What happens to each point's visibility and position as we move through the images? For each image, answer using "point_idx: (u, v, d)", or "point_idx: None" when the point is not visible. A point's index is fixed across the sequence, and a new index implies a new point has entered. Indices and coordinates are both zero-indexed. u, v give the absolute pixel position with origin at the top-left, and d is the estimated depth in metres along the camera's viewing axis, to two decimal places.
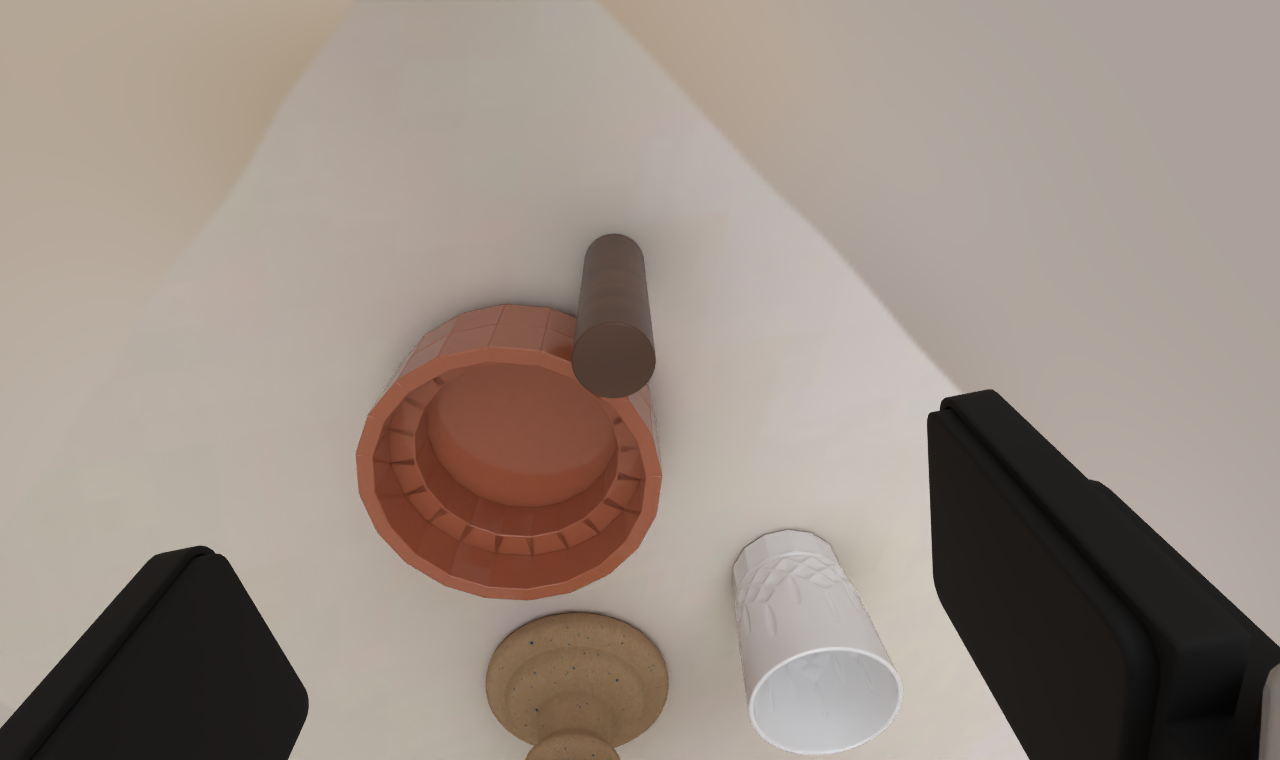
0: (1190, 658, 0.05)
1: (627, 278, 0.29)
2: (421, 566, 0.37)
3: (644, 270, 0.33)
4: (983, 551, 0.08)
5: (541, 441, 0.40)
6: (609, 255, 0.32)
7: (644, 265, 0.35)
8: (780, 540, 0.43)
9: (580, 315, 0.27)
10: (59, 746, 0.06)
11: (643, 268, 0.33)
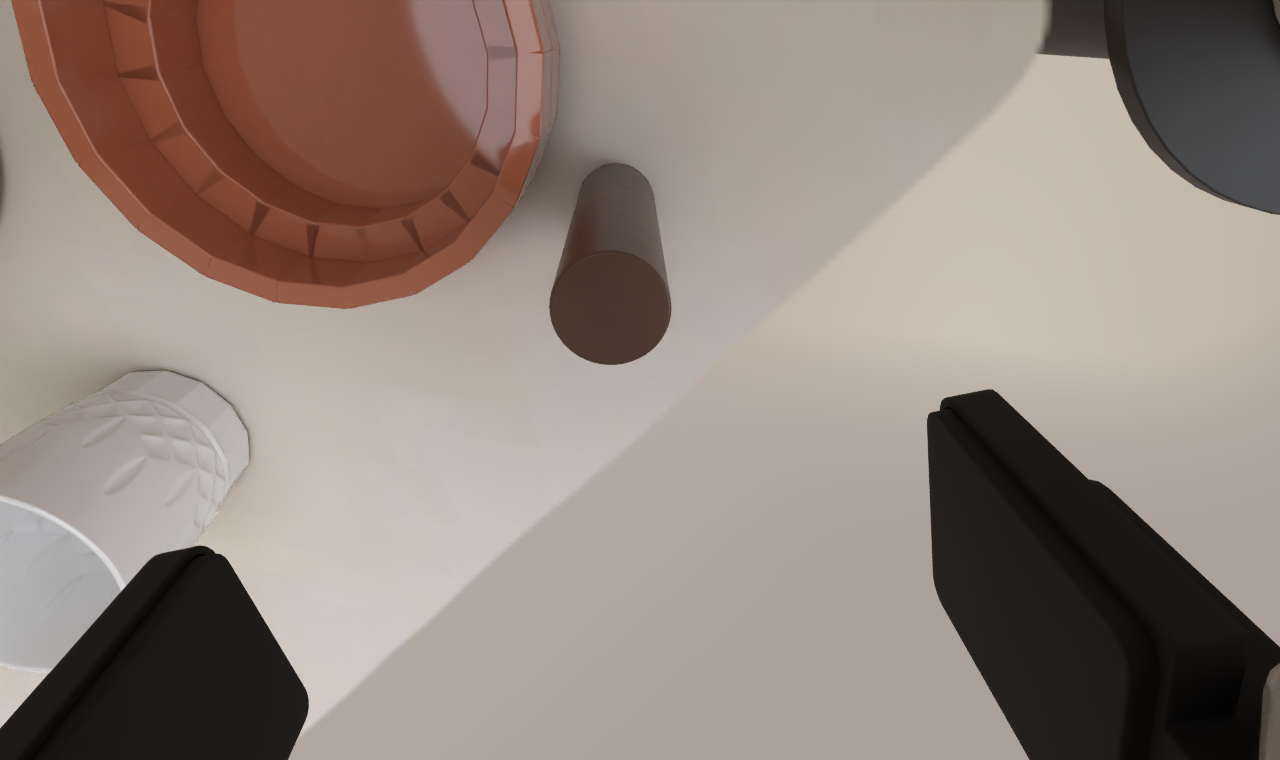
0: (1190, 658, 0.05)
1: None
2: None
3: None
4: (983, 551, 0.08)
5: (334, 87, 0.26)
6: None
7: None
8: (232, 431, 0.31)
9: (642, 234, 0.19)
10: (59, 746, 0.06)
11: None
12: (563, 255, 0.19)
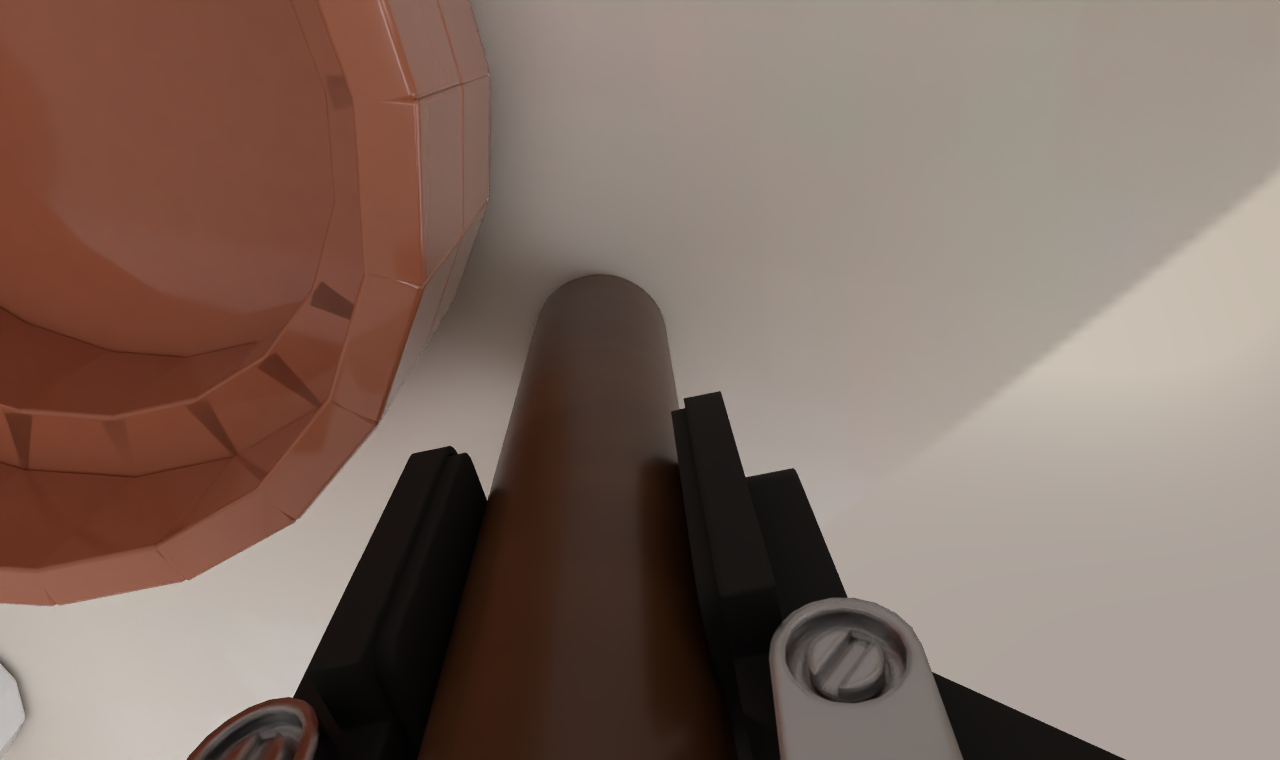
0: (734, 603, 0.06)
1: None
2: None
3: None
4: None
5: (69, 149, 0.14)
6: None
7: None
8: None
9: (661, 585, 0.07)
10: (411, 588, 0.07)
11: None
12: (450, 652, 0.07)
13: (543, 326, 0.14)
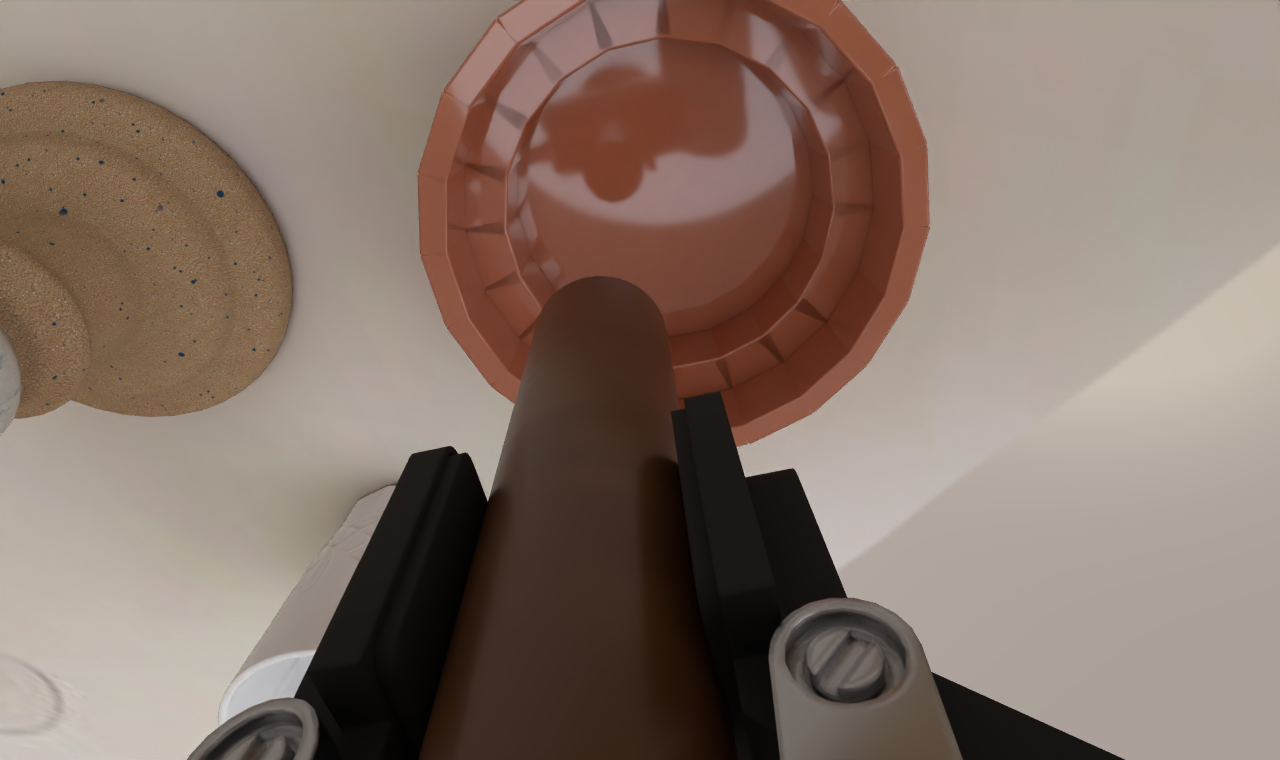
0: (733, 603, 0.06)
1: None
2: (488, 51, 0.18)
3: None
4: None
5: (643, 226, 0.26)
6: None
7: None
8: None
9: (662, 588, 0.07)
10: (412, 588, 0.07)
11: None
12: (451, 654, 0.07)
13: (543, 327, 0.14)
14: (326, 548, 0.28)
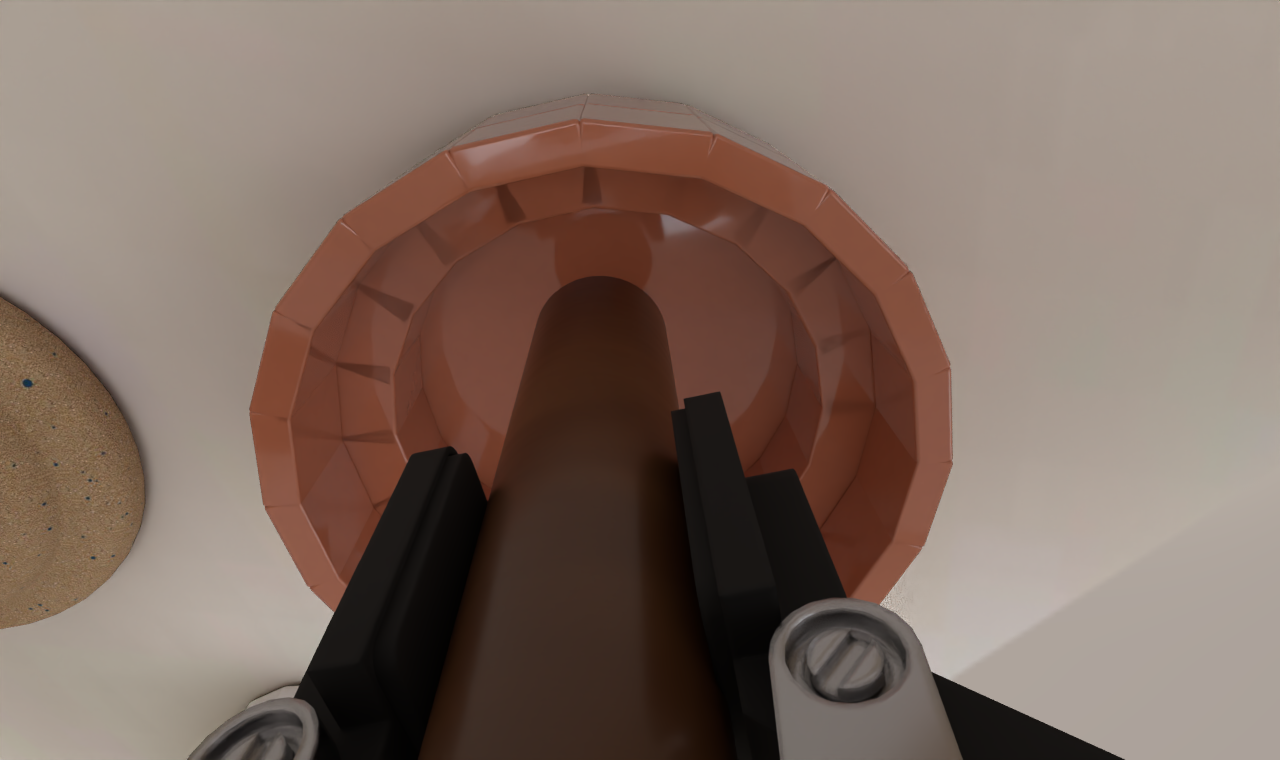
0: (733, 603, 0.06)
1: None
2: (333, 260, 0.13)
3: None
4: None
5: None
6: None
7: None
8: None
9: (662, 587, 0.07)
10: (412, 588, 0.07)
11: None
12: (451, 653, 0.07)
13: (543, 327, 0.14)
14: None
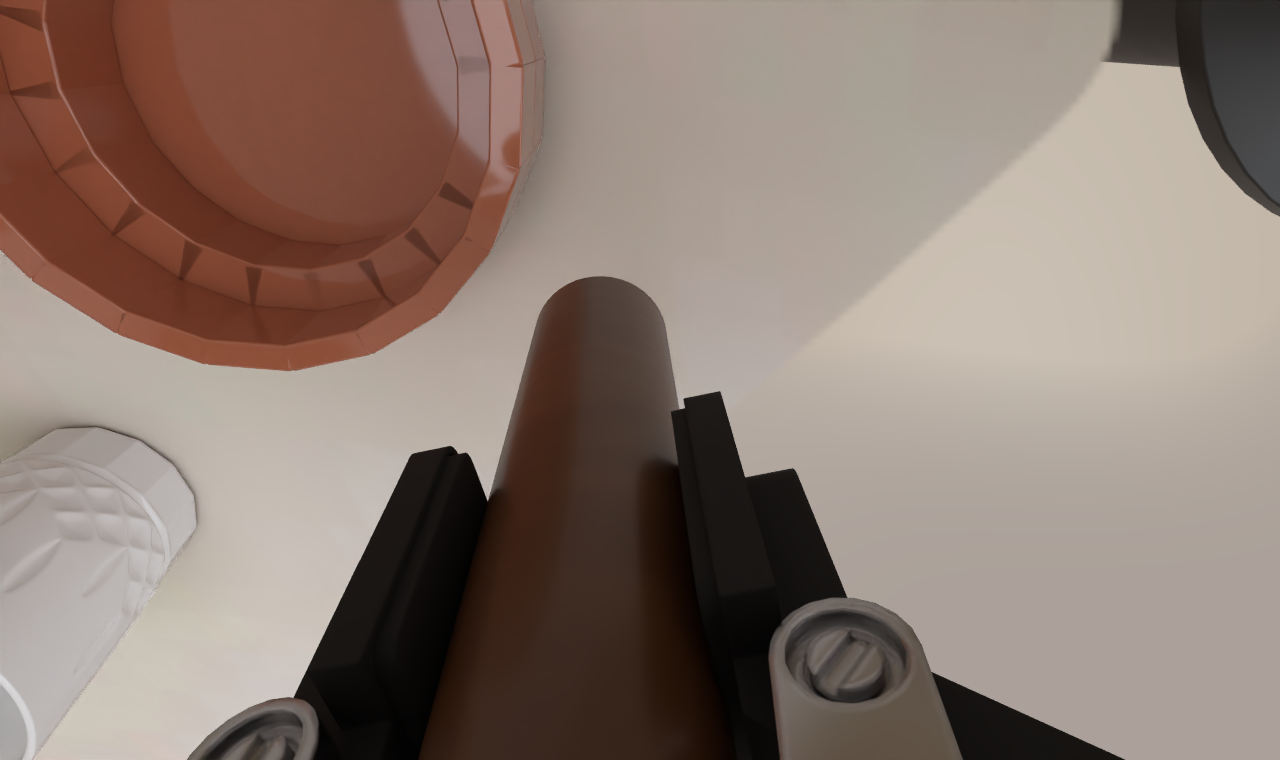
0: (733, 603, 0.06)
1: None
2: None
3: None
4: None
5: (280, 105, 0.22)
6: None
7: None
8: (174, 495, 0.27)
9: (662, 589, 0.07)
10: (412, 588, 0.07)
11: None
12: (451, 655, 0.07)
13: (543, 327, 0.14)
14: None
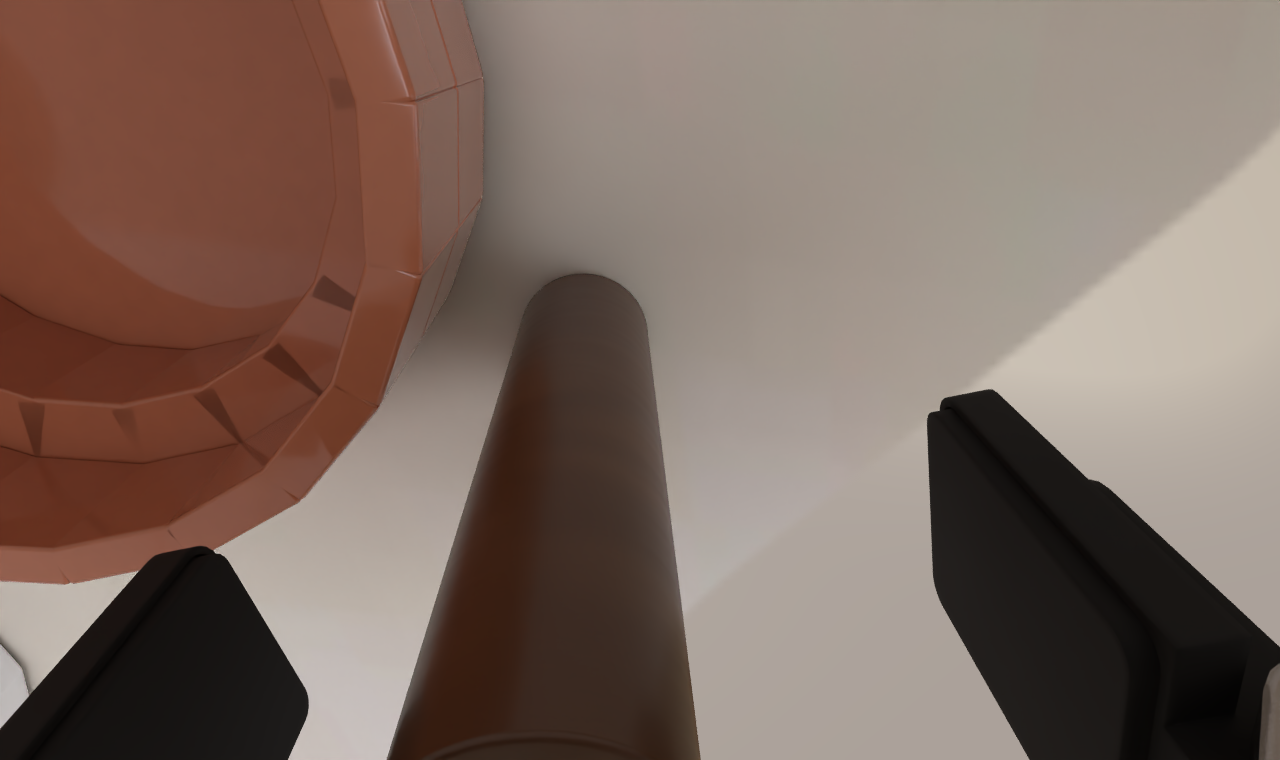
0: (1190, 657, 0.05)
1: None
2: None
3: None
4: (983, 551, 0.08)
5: (79, 150, 0.14)
6: None
7: None
8: None
9: (627, 555, 0.08)
10: (59, 746, 0.06)
11: None
12: (434, 616, 0.08)
13: (527, 322, 0.15)
14: None
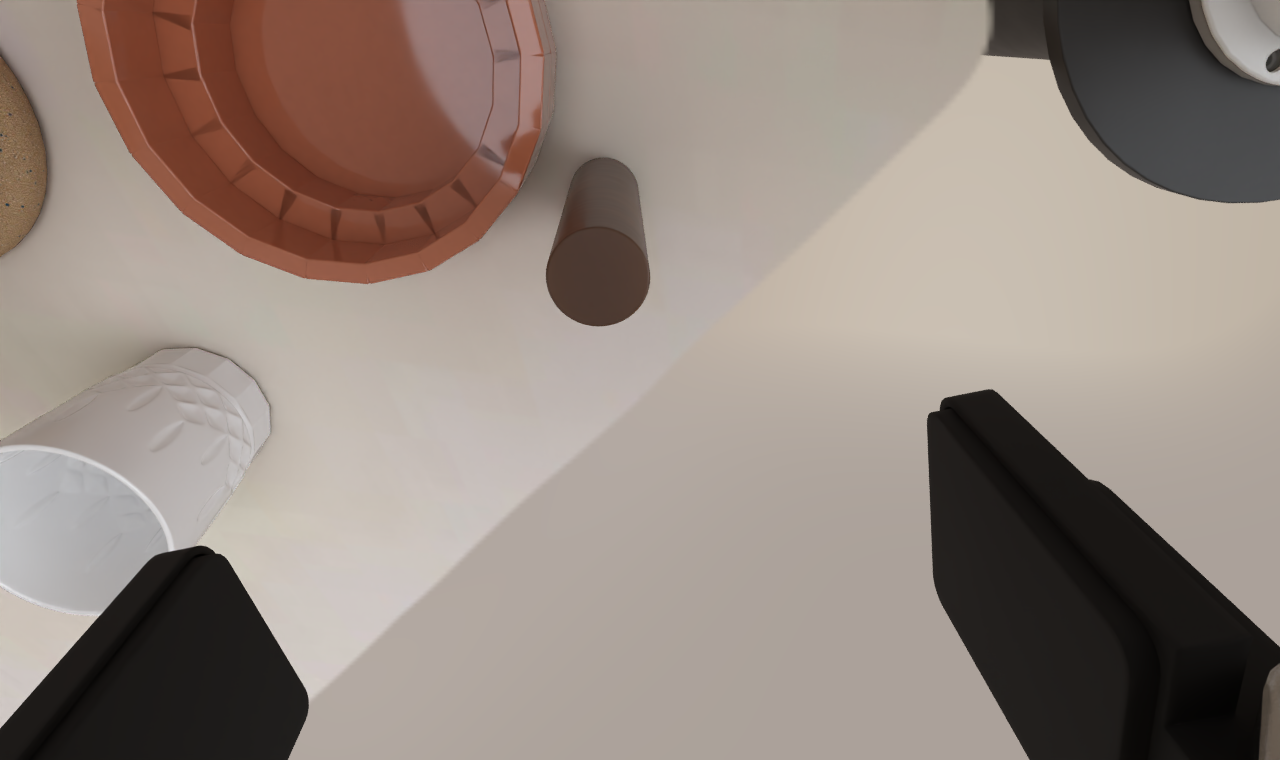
0: (1190, 658, 0.05)
1: None
2: None
3: None
4: (983, 551, 0.08)
5: (354, 87, 0.29)
6: None
7: None
8: (256, 403, 0.34)
9: (625, 215, 0.22)
10: (59, 746, 0.06)
11: None
12: (557, 233, 0.22)
13: (576, 177, 0.29)
14: None
